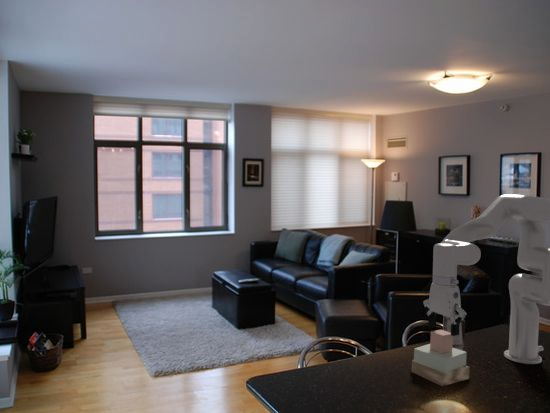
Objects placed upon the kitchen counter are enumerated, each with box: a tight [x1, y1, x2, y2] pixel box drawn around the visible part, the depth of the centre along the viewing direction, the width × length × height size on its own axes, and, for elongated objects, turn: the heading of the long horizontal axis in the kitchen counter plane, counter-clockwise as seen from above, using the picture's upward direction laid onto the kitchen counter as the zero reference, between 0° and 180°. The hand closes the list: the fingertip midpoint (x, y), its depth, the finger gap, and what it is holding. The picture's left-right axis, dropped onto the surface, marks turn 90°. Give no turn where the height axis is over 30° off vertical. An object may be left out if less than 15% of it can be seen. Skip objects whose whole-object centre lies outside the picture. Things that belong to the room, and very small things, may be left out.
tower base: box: [411, 359, 471, 387], centre depth 163 cm, size 13×13×4 cm
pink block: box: [429, 329, 453, 354], centre depth 162 cm, size 5×5×6 cm
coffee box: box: [442, 315, 466, 351], centre depth 176 cm, size 9×6×16 cm
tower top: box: [413, 343, 467, 373], centre depth 163 cm, size 12×12×4 cm
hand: (443, 331), depth 162 cm, fingers open, 9 cm apart
